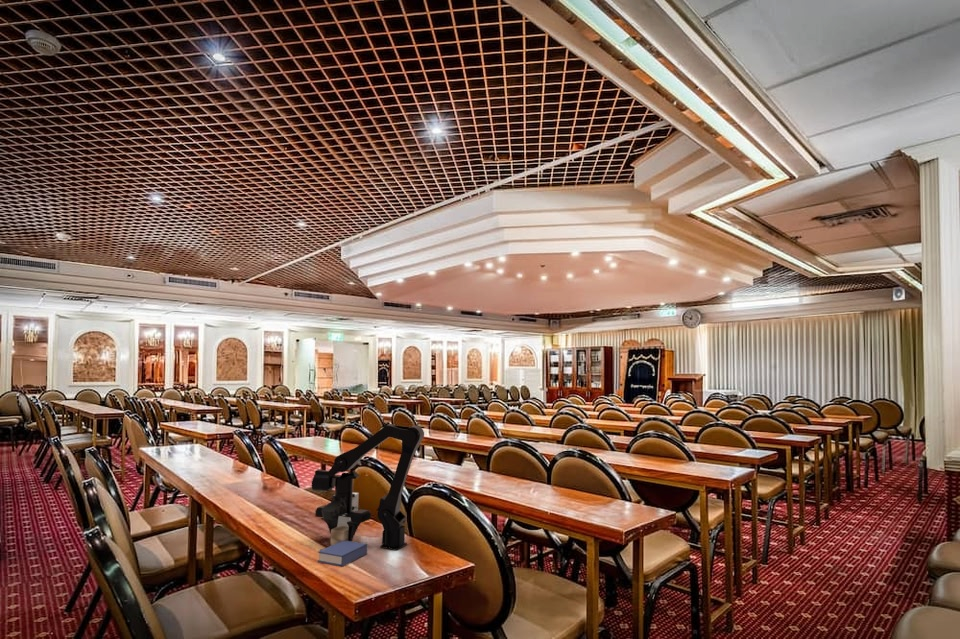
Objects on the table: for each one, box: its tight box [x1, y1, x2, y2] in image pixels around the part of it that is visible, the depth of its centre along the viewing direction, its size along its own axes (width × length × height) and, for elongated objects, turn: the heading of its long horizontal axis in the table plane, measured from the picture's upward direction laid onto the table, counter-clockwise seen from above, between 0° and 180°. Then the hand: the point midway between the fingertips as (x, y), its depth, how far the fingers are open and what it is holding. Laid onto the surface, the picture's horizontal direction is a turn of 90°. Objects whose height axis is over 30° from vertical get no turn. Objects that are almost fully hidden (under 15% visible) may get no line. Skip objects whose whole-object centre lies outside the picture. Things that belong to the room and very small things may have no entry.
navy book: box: [317, 540, 368, 567], centre depth 156 cm, size 9×12×3 cm
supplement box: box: [332, 492, 360, 527], centre depth 186 cm, size 7×7×13 cm
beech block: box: [329, 526, 354, 546], centre depth 170 cm, size 5×5×5 cm
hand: (341, 540), depth 170 cm, fingers open, 6 cm apart
